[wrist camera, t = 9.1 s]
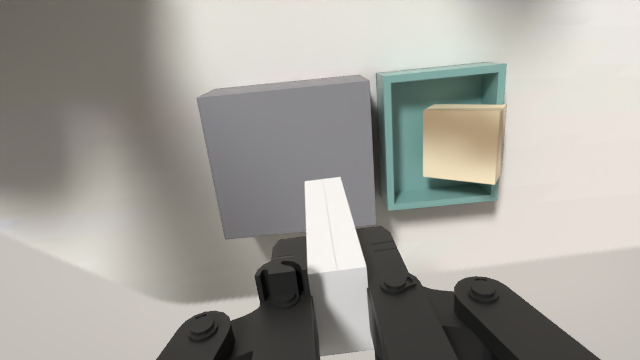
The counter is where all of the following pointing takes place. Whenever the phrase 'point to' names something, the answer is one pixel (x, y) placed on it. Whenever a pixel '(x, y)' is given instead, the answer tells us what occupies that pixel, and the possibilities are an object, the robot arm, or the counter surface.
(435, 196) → the box
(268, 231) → the gray rectangular block
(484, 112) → the tile
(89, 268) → the counter surface
